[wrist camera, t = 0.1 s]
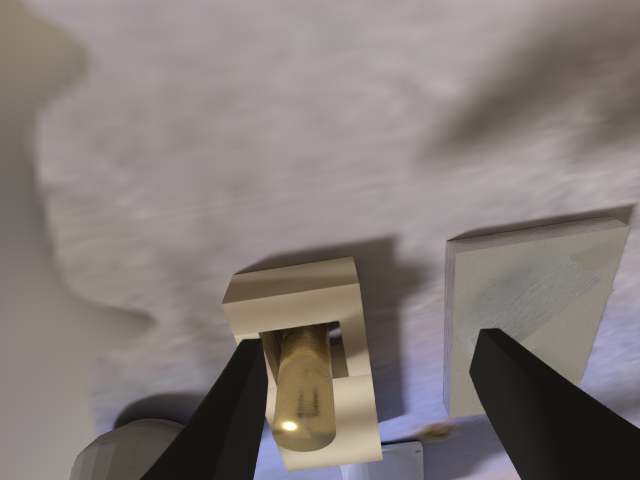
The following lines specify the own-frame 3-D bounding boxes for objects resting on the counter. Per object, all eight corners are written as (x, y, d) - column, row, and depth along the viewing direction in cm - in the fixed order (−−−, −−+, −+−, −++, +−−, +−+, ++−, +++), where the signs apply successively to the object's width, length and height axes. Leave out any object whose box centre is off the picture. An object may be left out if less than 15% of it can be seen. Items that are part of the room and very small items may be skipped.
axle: (331, 336, 24) (340, 447, 16) (289, 342, 24) (280, 455, 17) (324, 302, 22) (331, 409, 15) (279, 309, 22) (265, 418, 15)
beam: (376, 424, 29) (382, 460, 26) (289, 435, 29) (287, 471, 26) (352, 256, 20) (359, 283, 18) (232, 275, 21) (221, 304, 18)
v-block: (560, 386, 27) (599, 433, 23) (442, 401, 27) (462, 449, 24) (608, 215, 20) (674, 246, 16) (446, 241, 20) (475, 276, 17)
